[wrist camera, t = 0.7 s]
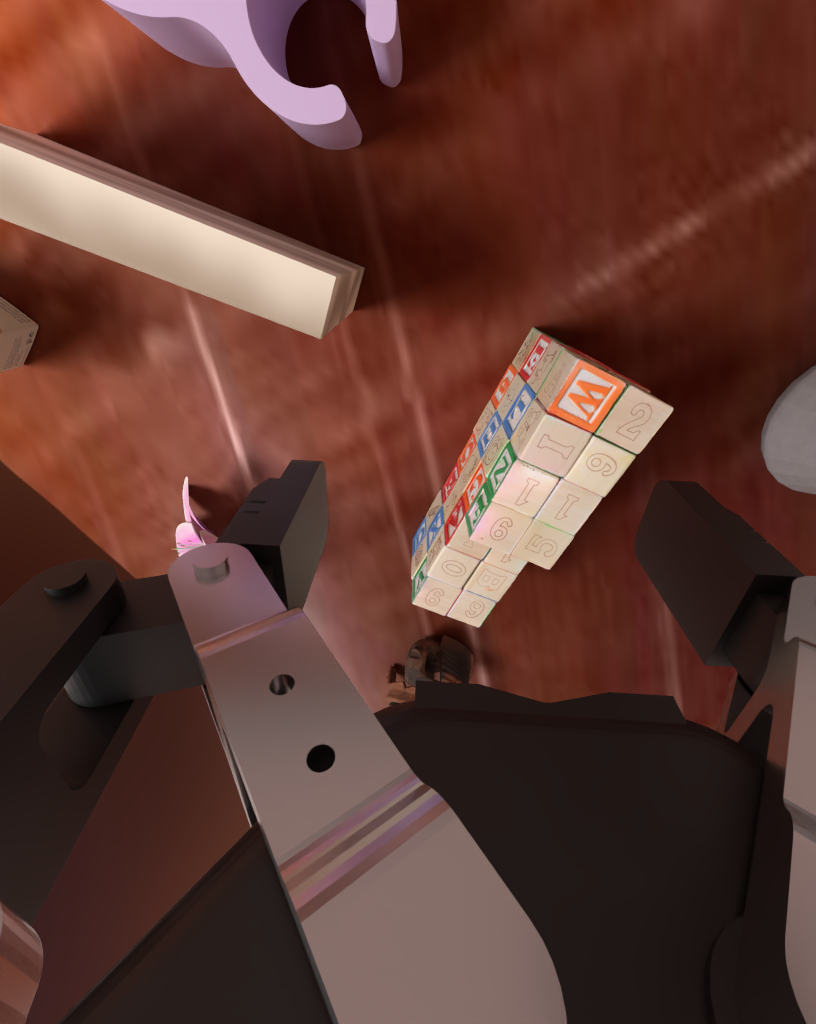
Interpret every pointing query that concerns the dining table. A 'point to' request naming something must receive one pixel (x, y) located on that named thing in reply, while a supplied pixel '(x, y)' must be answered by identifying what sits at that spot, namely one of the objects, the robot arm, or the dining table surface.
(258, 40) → the clip
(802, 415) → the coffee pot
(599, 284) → the dining table surface
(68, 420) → the dining table surface
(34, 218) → the board
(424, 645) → the pottery mug
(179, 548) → the lily
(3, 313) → the skincare box
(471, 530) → the stack of blocks
